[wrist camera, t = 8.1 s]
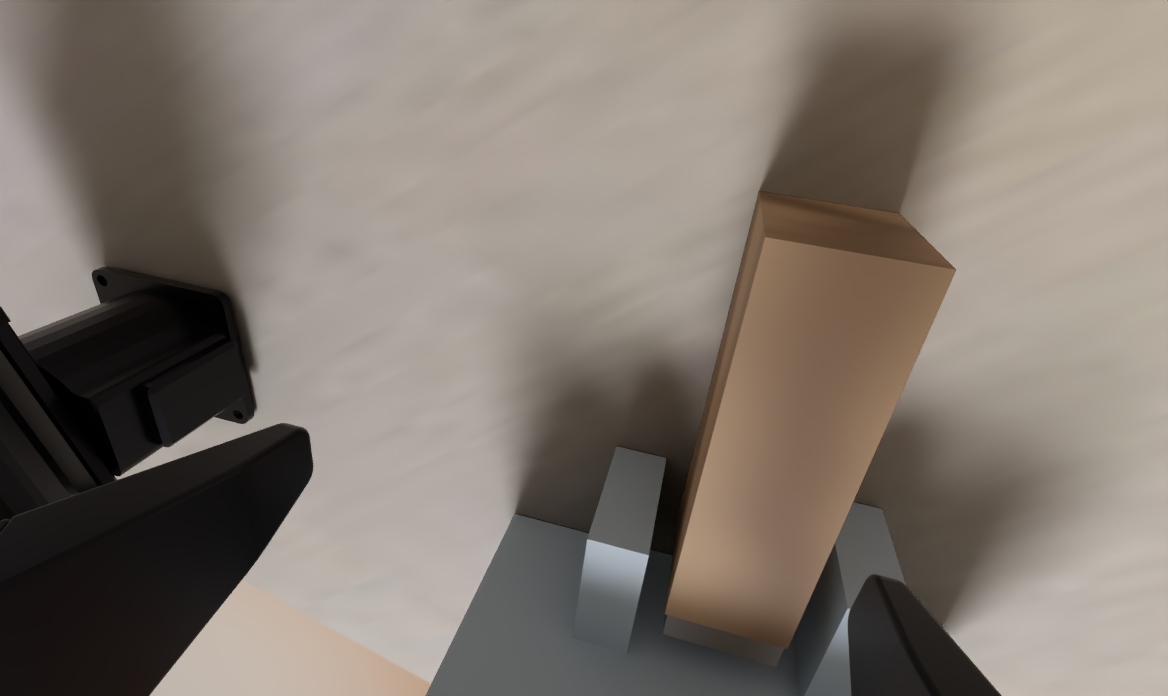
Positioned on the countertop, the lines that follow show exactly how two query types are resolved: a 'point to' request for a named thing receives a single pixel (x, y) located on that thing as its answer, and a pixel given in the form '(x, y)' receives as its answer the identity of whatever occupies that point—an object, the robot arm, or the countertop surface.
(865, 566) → the grey buttressed wall
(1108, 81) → the countertop surface
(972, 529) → the countertop surface
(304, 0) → the countertop surface
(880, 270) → the light brown long block
